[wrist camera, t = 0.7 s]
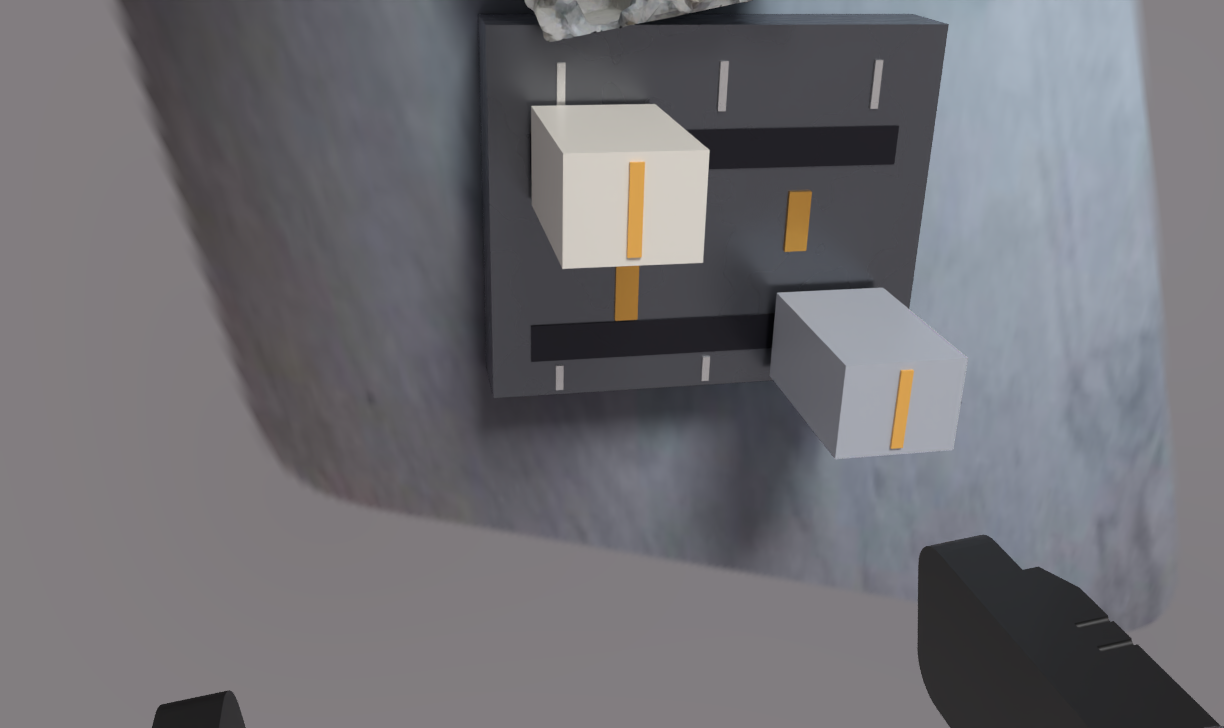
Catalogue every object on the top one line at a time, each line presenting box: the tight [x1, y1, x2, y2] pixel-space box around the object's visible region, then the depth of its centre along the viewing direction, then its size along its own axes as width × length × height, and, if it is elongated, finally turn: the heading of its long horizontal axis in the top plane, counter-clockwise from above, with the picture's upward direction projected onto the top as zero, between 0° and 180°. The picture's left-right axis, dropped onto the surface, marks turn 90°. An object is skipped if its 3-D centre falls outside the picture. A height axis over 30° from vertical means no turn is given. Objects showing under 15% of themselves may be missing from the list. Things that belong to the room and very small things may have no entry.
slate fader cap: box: [770, 288, 968, 459], centre depth 28 cm, size 2×3×5 cm
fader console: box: [478, 14, 948, 398], centre depth 30 cm, size 10×12×2 cm
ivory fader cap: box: [531, 104, 710, 269], centre depth 25 cm, size 2×3×5 cm
